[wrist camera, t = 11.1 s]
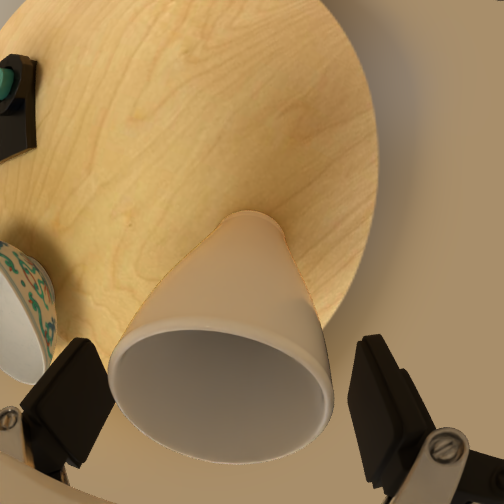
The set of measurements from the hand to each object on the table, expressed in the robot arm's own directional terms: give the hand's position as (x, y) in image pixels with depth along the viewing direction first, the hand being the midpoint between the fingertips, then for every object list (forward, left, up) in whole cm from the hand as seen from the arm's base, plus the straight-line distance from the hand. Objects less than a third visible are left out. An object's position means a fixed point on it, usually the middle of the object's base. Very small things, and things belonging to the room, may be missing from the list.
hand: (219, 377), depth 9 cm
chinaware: (+3, -23, -13) cm, 27 cm away
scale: (-15, -24, -13) cm, 32 cm away
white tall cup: (0, 0, -13) cm, 13 cm away
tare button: (-18, -20, -10) cm, 29 cm away
